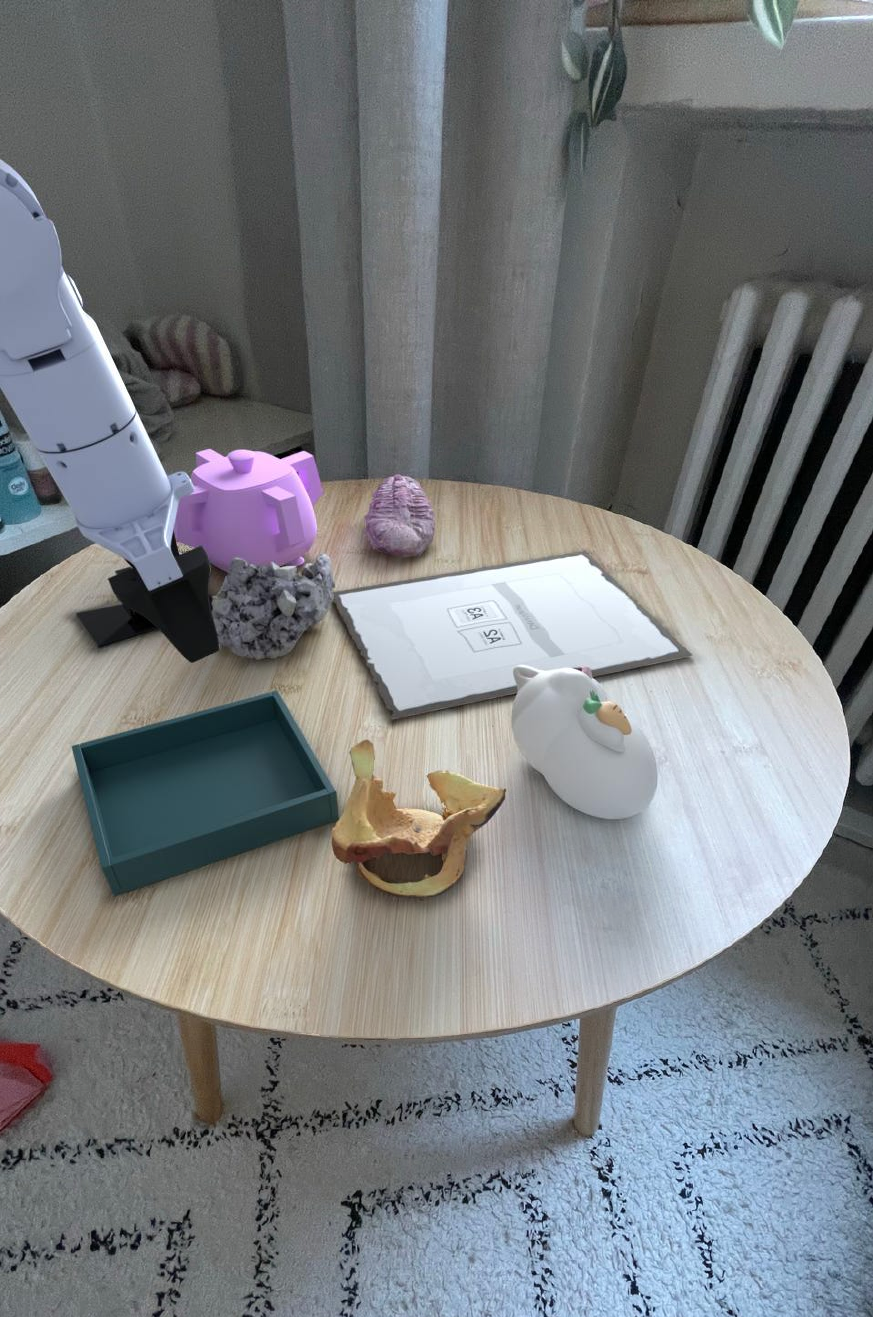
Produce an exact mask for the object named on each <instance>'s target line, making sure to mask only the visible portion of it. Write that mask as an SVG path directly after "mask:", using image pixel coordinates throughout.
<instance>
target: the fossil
mask: <svg viewBox="0 0 873 1317" xmlns="http://www.w3.org/2000/svg"><path fill="white" fill-rule="evenodd" d="M435 516H436V514H435V512H434V510H433V508H432V506H431V502H430V499H429V498H428V496H426V493H425V491H424V490H423V488H422V485H421V484H420V483H419V481H417V480H415V479H414V478H412V477H410V476H406V475H401V474H398V473H397V474H395V475H394V476H389V477H388V478H385V480H383V481H382V482H381V483H379V484H378V486H377V488H376V489H375V490H373V492H372V498H371V500H370V501H369V504H368V511H367V513H366V515H364V523H365V527H364V530H363V531H364V535H365V539H366V540H368V541H369V545H370V546H371V548H372V549H373V550H374V551H378V552H381V553H384V554H385V553H386V554H389V555H393V556H395V557H399V558H406V557H407V558H409V557H420V556H421V555H422V554H423V552H424V551H425V550H426V549H427V548H428V547H429V546H430V544H431V543H432V542H433V541H434V536H435V526H436V521H435V519H434V518H435Z"/></svg>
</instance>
